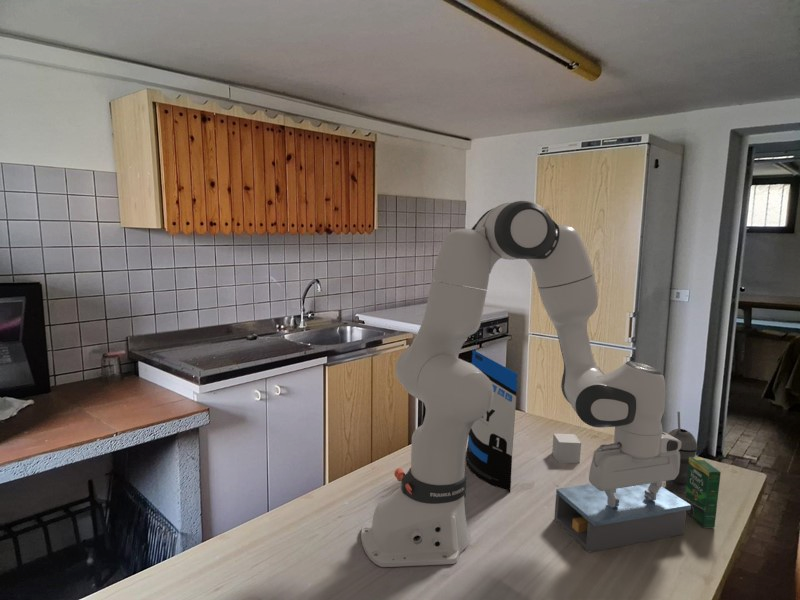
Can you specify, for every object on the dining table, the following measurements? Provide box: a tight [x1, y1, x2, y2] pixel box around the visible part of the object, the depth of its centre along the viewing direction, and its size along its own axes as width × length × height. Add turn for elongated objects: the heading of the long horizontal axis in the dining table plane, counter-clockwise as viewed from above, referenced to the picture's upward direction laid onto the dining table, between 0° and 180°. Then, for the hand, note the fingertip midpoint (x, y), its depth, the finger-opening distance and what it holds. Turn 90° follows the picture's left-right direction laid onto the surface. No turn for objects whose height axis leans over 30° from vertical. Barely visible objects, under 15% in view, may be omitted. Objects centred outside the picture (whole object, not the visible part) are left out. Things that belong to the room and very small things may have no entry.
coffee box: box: [684, 456, 721, 529], centre depth 114 cm, size 8×3×13 cm, turn 179°
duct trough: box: [553, 494, 687, 553], centre depth 111 cm, size 24×12×6 cm, turn 107°
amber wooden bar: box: [572, 517, 589, 532], centre depth 111 cm, size 22×2×2 cm, turn 107°
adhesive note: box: [551, 433, 582, 464], centre depth 144 cm, size 6×6×6 cm
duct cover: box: [555, 483, 691, 526], centre depth 110 cm, size 24×13×1 cm, turn 107°
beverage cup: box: [665, 411, 698, 494], centre depth 127 cm, size 7×7×20 cm
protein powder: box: [465, 349, 519, 493], centre depth 134 cm, size 10×24×30 cm, turn 18°
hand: (631, 502), depth 107 cm, fingers open, 8 cm apart
